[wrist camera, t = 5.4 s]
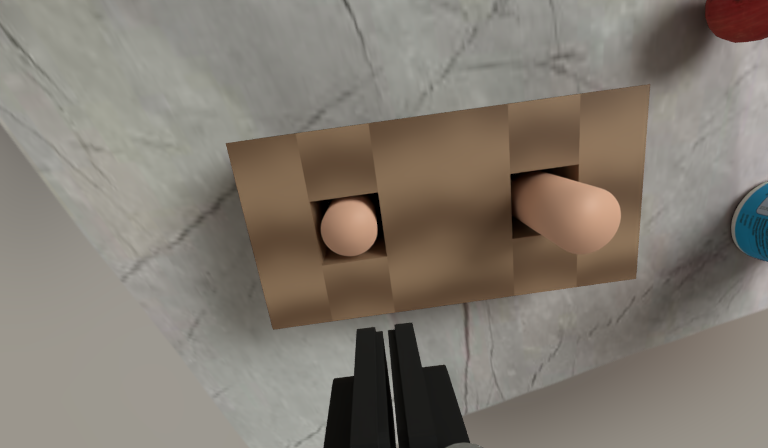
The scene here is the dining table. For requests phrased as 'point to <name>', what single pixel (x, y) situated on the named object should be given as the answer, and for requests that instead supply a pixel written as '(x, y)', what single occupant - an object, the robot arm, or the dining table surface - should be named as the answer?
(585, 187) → the peg
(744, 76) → the dining table surface
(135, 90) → the dining table surface
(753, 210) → the beverage bottle
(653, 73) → the dining table surface
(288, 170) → the peg block
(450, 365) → the dining table surface
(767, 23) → the onion
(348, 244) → the peg
